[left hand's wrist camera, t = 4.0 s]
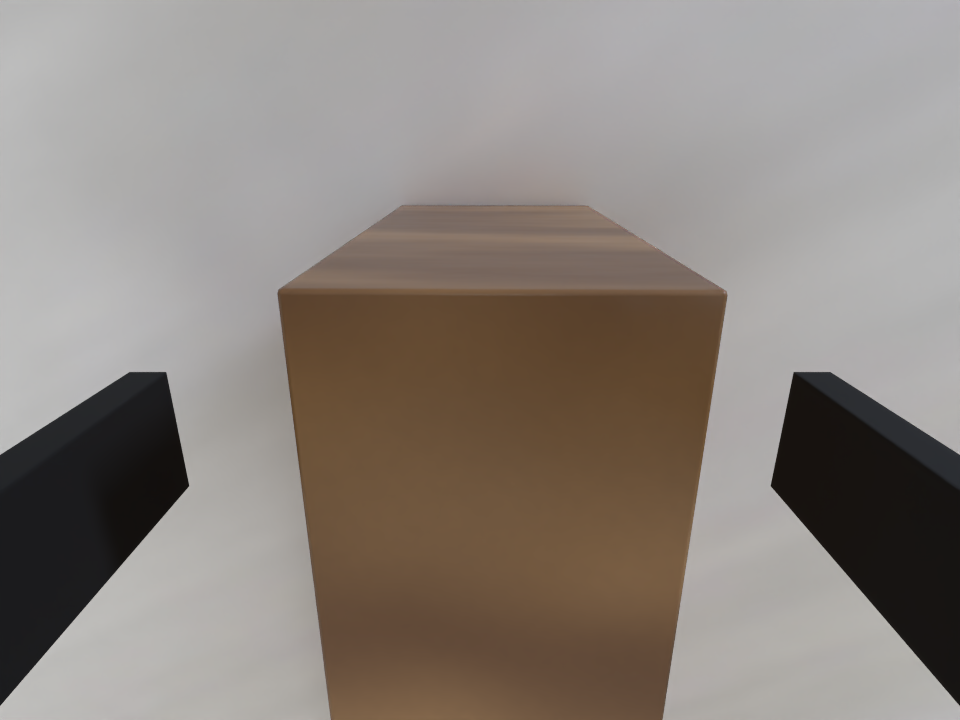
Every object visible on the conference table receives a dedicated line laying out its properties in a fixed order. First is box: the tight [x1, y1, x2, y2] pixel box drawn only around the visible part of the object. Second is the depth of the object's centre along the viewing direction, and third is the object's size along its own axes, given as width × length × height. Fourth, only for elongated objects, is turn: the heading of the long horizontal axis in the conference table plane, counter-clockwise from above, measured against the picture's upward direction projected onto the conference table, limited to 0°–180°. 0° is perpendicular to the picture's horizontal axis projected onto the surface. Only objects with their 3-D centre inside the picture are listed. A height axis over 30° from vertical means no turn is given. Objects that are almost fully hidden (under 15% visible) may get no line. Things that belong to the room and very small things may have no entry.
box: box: [278, 206, 727, 720], centre depth 18 cm, size 25×6×12 cm, turn 0°
